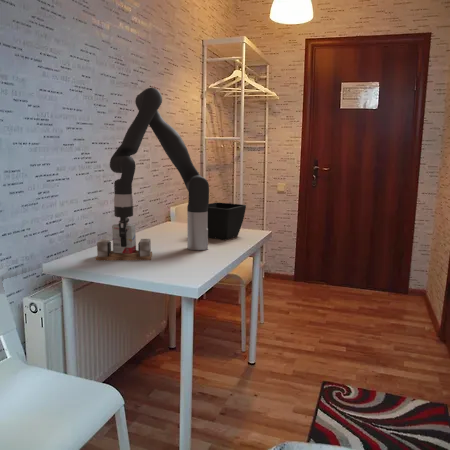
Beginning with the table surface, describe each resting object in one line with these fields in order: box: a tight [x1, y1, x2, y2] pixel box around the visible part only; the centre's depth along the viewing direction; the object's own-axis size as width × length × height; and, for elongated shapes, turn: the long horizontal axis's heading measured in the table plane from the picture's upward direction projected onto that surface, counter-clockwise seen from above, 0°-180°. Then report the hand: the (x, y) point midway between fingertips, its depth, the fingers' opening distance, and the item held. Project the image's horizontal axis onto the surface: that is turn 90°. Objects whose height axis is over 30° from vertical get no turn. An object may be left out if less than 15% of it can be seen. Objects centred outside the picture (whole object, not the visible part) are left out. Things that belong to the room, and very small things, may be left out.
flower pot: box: [208, 201, 247, 241], centre depth 232 cm, size 19×19×17 cm
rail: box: [95, 238, 153, 262], centre depth 185 cm, size 22×10×7 cm, turn 96°
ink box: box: [111, 223, 137, 254], centre depth 184 cm, size 9×5×12 cm, turn 79°
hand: (124, 244), depth 185 cm, fingers closed on ink box, 5 cm apart
